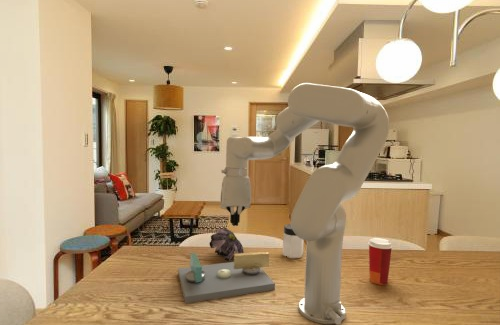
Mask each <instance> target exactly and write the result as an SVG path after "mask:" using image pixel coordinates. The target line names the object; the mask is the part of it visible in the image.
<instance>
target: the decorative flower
mask: <svg viewBox="0 0 500 325" xmlns="http://www.w3.org/2000/svg"><path fill="white" fill-rule="evenodd" d="M215 232H216V233H212V234H211V236H210V237H209V238H210V241H209V248H211V249H215V251H214V253H215V254H217V255H218V256H219V257H224V261H225V262H229V261H230V260H232V258H234V254H240V253H245V252H244V247H243V245H242V243H241V241H240V240H239V239H238V238H237V237H236V235H235V233H234V232H233V231H232V230H230V229H227V228H219V229H216V230H215Z"/></svg>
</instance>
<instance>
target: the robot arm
mask: <svg viewBox="0 0 500 325" xmlns="http://www.w3.org/2000/svg"><path fill="white" fill-rule="evenodd" d="M275 122H276V123H275V124H276V125H277V129H276V130H275V131H273V132H272V133H270V134H269V135H267V136H265V137H264V136H243V137H242V136H230V137H228V138H227V139H226V149H225V150H226V154H225V159H226V160H225V168H224V169H221V171H220V172H221V174H224V176H223V178H222V182H221V189H220V190H221V191H220V206H219V208H220V209H221V210H226V211H228V213H229V214H230V218H229V219H230V220H229V223H230V224H231V225H232V226H233V227H235V226H236V227H237V226H239V223H240V221H241V220H240V218H241V214H242V213H243V211H244V210H246V209H250V208H251V207H252V206H251V204H252V186H251V179H250V178H251V177H250V176H248V170H249V169H248V166H249V161H256V160H270V159H271V158H274V157H275V156H277V155H279V154H280V153H282V152H284V151H285V150H286V149H288V148H289V147H290V145H291V144H292V143H293V142H294V139H295V138H296V137H297V136H299V135H300V134H302V133H303V132H305V131H306V130H308V129H310V128H311V127H312V126H314V125H316V124H318V123H319V122H324V123H326V124H327V123H328V124H332V125H336V126H341V127H348V128H353V129H352V133H351V135H349V137H348V139H346V141H344V143H343V145H342V148H341V149H340V152H339V153H338V155H337V157H336V158H335V160H334V162H333V163H332V164H325V165H321V166H320V167H318V168H316V169H315V170H314V172H312V173H311V174H310V176H309V178H307V180H306V182H305V185H304V187H303V189H302V191H301V193H300V194H299V197H298V199H297V201H296V203H295V205H294V207H293V210H292V211H291V214H290V224H291V226H292V229H293V231H294V233H295V234H296V235H297V236H298V237H299V238H300V239H303V240H304V241H306V245H305V246H306V247H305V248H306V250H305V268H304V269H305V272H304V273H305V274H304V278H305V279H304V297H303V298H302V299H300V300H299V302H298V311H299V312H300V314H301V315H302V316H303V317H304V318H306V319H307V320H309V321H310V322H314V323H317V324H323V325H332V324H333V325H341V323H342V321H343V320H345V319H346V318H347V314H346V308H345V307H344V306H343V305H342V302H341V283H342V260H343V258H342V256H343V244H344V243H343V242H344V236H345V229H346V225H347V213H346V209H345V208H344V206H343V205H342V203H343V202H346V201H348V200H351V199H353V198H355V197H356V196H357V195H358V193H359V191H360V190H361V188H362V186H363V184H364V182H365V181H366V179H367V177H368V176H369V174H370V172H371V170H372V168H373V166H374V165H375V162H376V160H377V159H378V157H379V155H380V154H381V151H382V149H383V148H384V146H385V144H386V142H387V140H388V138H389V132H390V119H389V116H388V112H387V111H386V109H385V108H384V106H383V105H382V104H381V103H380V102H379V101H378V100H377V99H376V98H375V97H373V96H371V95H369V94H366V93H364V92H360V91H358V90H356V89H353V88H348V87H342V86H334V85H333V86H332V85H326V84H325V85H324V84H319V83H311V82H303V83H300V84H298V85H296V86H295V87H293V89H291V91H290V93H289V95H288V97H287V107H285V109H283V110H281V111H280V112H279V113H278V114H277V116H276V118H275ZM235 207H236V209H235Z"/></svg>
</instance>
